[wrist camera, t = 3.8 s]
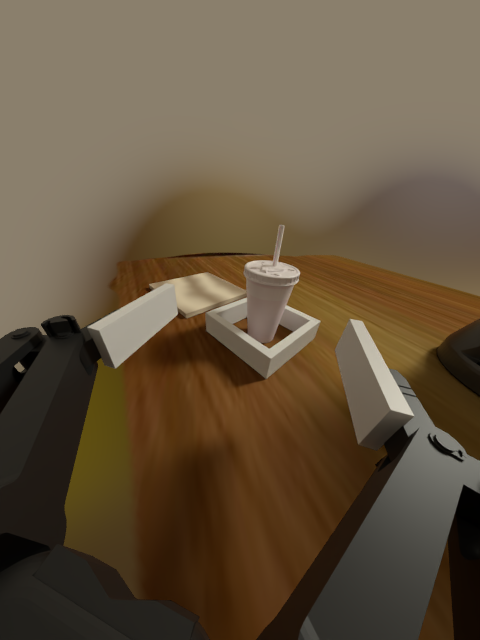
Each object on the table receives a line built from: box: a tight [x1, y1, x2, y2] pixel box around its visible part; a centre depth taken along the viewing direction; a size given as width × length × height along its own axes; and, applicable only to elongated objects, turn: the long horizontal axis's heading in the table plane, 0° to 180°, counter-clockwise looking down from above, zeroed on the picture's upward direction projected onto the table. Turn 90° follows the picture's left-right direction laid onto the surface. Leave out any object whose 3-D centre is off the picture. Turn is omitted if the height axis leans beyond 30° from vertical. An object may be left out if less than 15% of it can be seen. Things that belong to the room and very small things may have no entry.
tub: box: [206, 298, 321, 379], centre depth 25 cm, size 11×11×3 cm
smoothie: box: [244, 225, 300, 343], centre depth 22 cm, size 6×6×14 cm
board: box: [149, 272, 247, 318], centre depth 36 cm, size 14×14×1 cm
